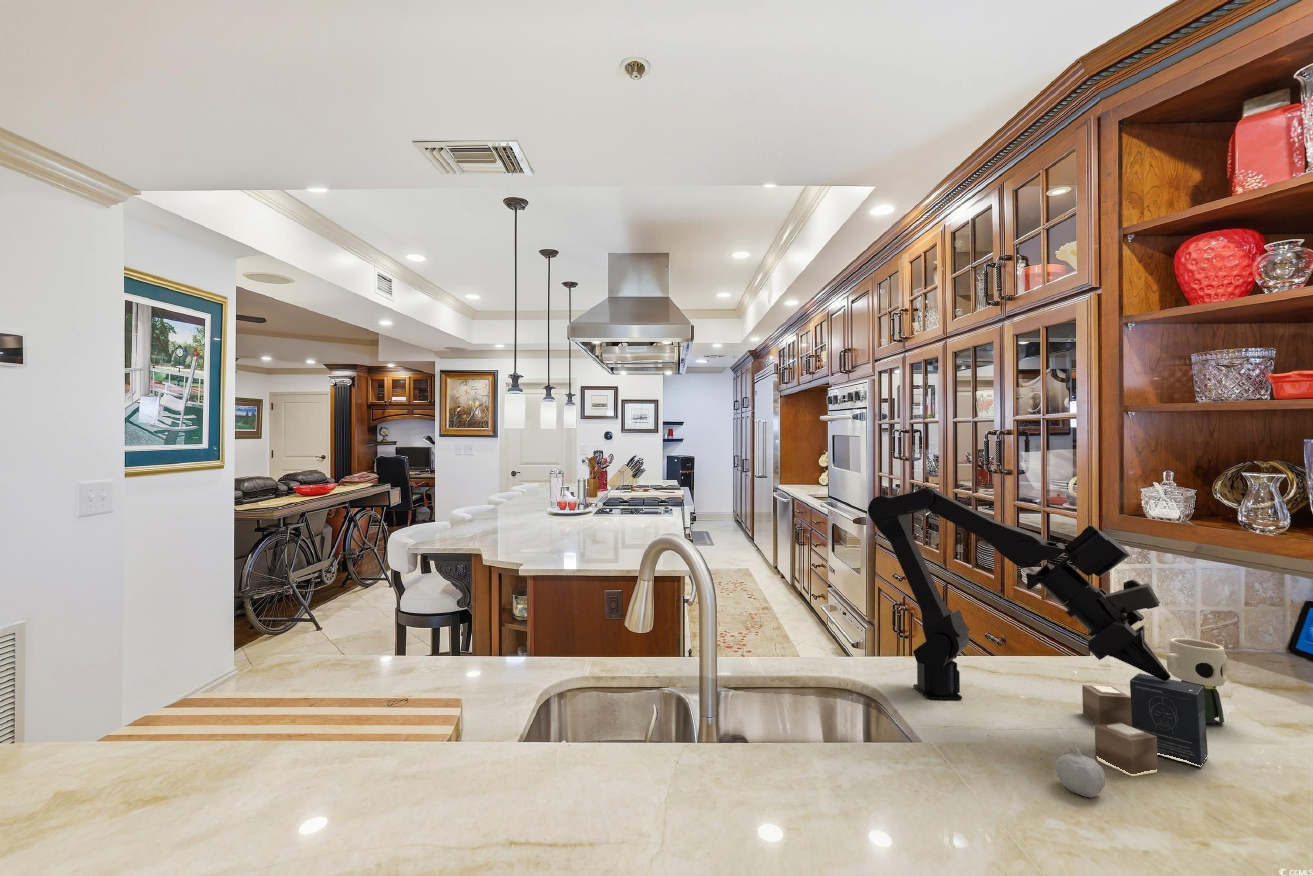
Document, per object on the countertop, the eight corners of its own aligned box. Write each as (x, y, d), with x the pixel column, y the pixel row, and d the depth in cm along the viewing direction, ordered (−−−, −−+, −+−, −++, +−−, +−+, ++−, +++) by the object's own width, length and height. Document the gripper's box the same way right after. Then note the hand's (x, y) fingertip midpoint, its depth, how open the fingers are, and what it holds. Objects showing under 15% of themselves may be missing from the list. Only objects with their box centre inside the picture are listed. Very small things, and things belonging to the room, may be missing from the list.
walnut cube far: (1099, 725, 98) (1098, 693, 98) (1082, 713, 103) (1082, 683, 103) (1132, 728, 97) (1131, 696, 97) (1114, 716, 102) (1113, 685, 102)
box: (1208, 758, 86) (1204, 685, 87) (1201, 769, 83) (1197, 693, 84) (1141, 739, 93) (1138, 671, 93) (1132, 749, 89) (1129, 678, 90)
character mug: (1190, 728, 97) (1187, 649, 98) (1151, 711, 104) (1148, 637, 105) (1250, 728, 98) (1247, 649, 98) (1207, 711, 105) (1204, 637, 106)
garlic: (1049, 776, 80) (1048, 737, 81) (1095, 784, 78) (1094, 744, 79) (1063, 799, 75) (1062, 757, 75) (1113, 807, 73) (1112, 764, 73)
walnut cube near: (1131, 777, 80) (1130, 738, 81) (1095, 760, 85) (1094, 723, 86) (1157, 773, 82) (1156, 734, 82) (1121, 756, 87) (1119, 720, 87)
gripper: (1112, 570, 86) (1219, 662, 78) (1124, 559, 100) (1217, 637, 92) (1051, 614, 91) (1145, 706, 83) (1070, 598, 105) (1153, 675, 96)
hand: (1168, 679), depth 88 cm, fingers closed
